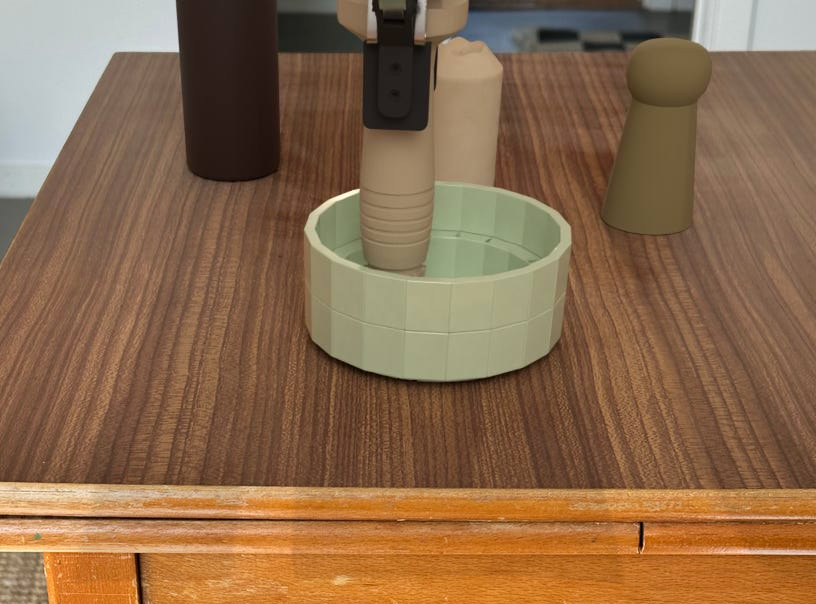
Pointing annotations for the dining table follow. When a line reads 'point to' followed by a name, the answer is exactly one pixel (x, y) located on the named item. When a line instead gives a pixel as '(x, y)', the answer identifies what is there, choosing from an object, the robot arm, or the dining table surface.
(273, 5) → the bottle
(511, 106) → the dining table surface
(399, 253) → the handle
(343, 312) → the bowl
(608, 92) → the dining table surface
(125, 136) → the dining table surface
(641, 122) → the olive brown knobbed cone
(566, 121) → the dining table surface
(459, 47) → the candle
